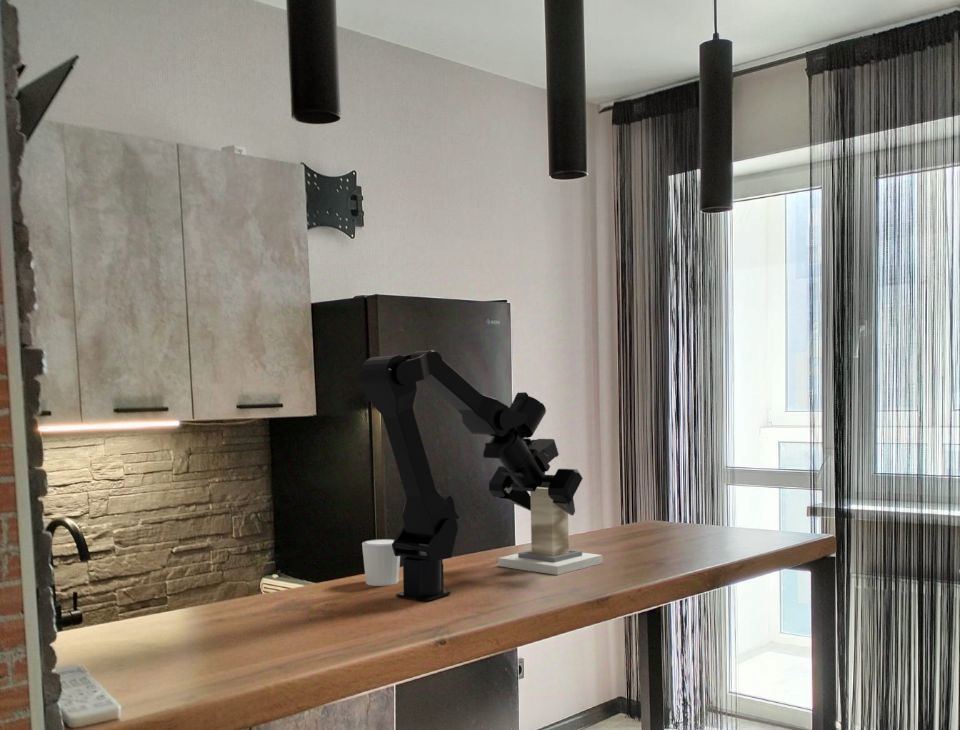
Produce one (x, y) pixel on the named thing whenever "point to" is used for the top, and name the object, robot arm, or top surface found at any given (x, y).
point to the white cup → (380, 562)
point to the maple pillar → (548, 525)
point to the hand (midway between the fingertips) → (553, 511)
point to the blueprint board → (550, 562)
